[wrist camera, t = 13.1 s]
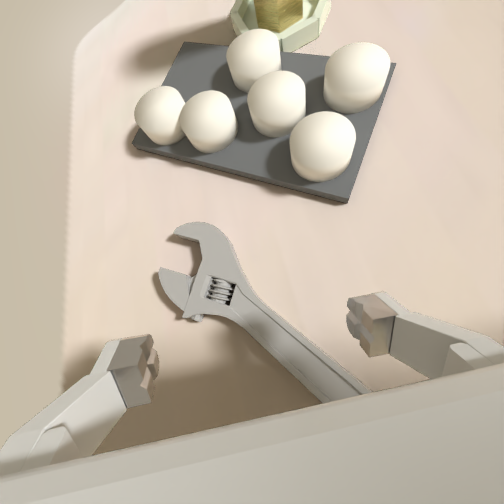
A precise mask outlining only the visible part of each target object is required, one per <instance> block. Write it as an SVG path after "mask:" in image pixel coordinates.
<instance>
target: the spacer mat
mask: <svg viewBox="0 0 504 504" xmlns="http://www.w3.org/2000/svg"><path fill="white" fill-rule="evenodd" d="M395 66H396V63H390V58H389V56H388V54H387V52H386V51H385V50H384V49H383V48H381V47H380V46H378V45H375V44H372V43H367V42H358V43H352V44H349V45H346V46H344V47H342V48H340V49H338V50H337V51H336V52H334V53H333V54H332V55H331V57H330V56H320V55H310V54H300V53H291V52H281V51H280V48H279V41H278V38H277V36H276V35H275V34H274V33H273V32H271V31H269V30H266V29H253V30H249V31H247V32H244V33H242V34H241V35H239V36H238V37H236V38H235V39H234V40H233V41H232V43H231V44H230V46H222V45H212V44H202V43H192V42H184V43H183V45H182V47H181V49H180V51H179V53H178V55H177V57H176V59H175V61H174V62H173V64H172V66H171V68H170V70H169V72H168V74H167V76H166V78H165V80H164V82H163V84H162V86H160V87H156V88H154V89H152V90H150V91H148V92H147V93H146V94H145V95H143V96H142V98H141V99H140V100H139V102H138V103H137V105H136V108H135V113H134V116H135V121H136V123H137V124H138V125H139V126H140V128H139V130H138V132H137V134H136V136H135V138H134V140H133V142H132V144H133V145H134V146H135V147H136V148H137V149H140V150H144V151H148V152H152V153H155V154H159V155H163V156H167V157H171V158H175V159H178V160H182V161H186V162H190V163H194V164H198V165H202V166H205V167H209V168H213V169H217V170H221V171H225V172H228V173H232V174H236V175H240V176H244V177H248V178H251V179H255V180H259V181H263V182H267V183H271V184H274V185H278V186H282V187H286V188H290V189H294V190H297V191H301V192H305V193H309V194H313V195H317V196H320V197H324V198H328V199H332V200H336V201H340V202H344V203H348V200H349V197H350V194H351V191H352V189H353V186H354V183H355V180H356V177H357V174H358V171H359V168H360V166H361V163H362V160H363V157H364V154H365V151H366V148H367V146H368V143H369V140H370V137H371V134H372V131H373V128H374V126H375V123H376V120H377V117H378V114H379V111H380V108H381V106H382V103H383V100H384V97H385V94H386V91H387V88H388V86H389V83H390V80H391V77H392V74H393V71H394V68H395Z"/></svg>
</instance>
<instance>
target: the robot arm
mask: <svg viewBox="0 0 504 504" xmlns="http://www.w3.org/2000/svg"><path fill="white" fill-rule="evenodd" d="M347 307H348V308H349V309H350V311H349V313H348V314H347V321H346V322H347V326H348V329H349V331H350V333H351V334H352V336H353V337H354V338H356V339H358V340H360V346H361V348H362V349H363V350H364V351H365V353H366V354H367V355H368V357H373V356H379V355H384V354H390V355H391V356H393V357H394V358H396V359H398V360H399V361H401V362H403V363H405V364H406V365H408V366H410V367H411V368H413V369H415V370H416V371H418V372H420V373H421V374H423V375H425V376H426V377H428V378H430V380H426V381H421V382H417V383H412V384H408V385H403V386H399V387H394V388H390V389H386V390H381V391H377V392H372V393H368V394H363V395H359V396H354V397H350V398H346V399H341V400H337V401H332V402H328V403H323V404H319V405H314V406H310V407H306V408H301V409H297V410H292V411H288V412H283V413H279V414H274V415H270V416H265V417H261V418H257V419H252V420H248V421H243V422H239V423H234V424H230V425H226V426H221V427H217V428H212V429H208V430H204V431H199V432H195V433H190V434H186V435H181V436H177V437H173V438H168V439H164V440H159V441H155V442H150V443H146V444H141V445H137V446H132V447H128V448H124V449H119V450H115V451H110V452H106V453H101V454H97V455H93V453H94V452H95V451H96V449H97V448H98V447H99V446H100V444H101V443H102V442H103V440H104V439H105V438H106V436H107V435H108V434H109V433H110V431H111V430H112V429H113V427H114V426H115V425H116V424H117V422H118V421H119V420H120V418H121V417H122V416H123V414H124V413H125V412H126V411H127V408H131V407H135V406H139V405H144V404H148V403H152V398H153V394H154V390H155V384H154V380H155V378H156V377H157V376H158V371H159V358H158V354H157V351H156V350H154V349H153V348H152V347H153V343H154V341H153V339H152V336H151V335H150V334H146V335H140V336H133V337H127V338H123V339H116V340H110V341H108V342H107V343H106V344H105V346H104V348H103V350H102V352H101V354H100V356H99V357H98V359H97V361H96V363H95V365H94V367H93V369H92V371H91V373H90V374H89V375H86V376H84V377H83V378H81V379H80V380H79V381H78V382H76V383H75V384H74V385H73V386H71V387H70V388H69V389H68V390H67V391H65V392H64V393H63V394H62V395H60V396H59V397H58V398H57V399H55V400H54V401H53V402H52V403H50V404H49V405H48V406H47V407H45V408H44V409H43V410H42V411H41V412H39V413H38V414H37V415H36V416H34V417H33V418H32V419H31V420H29V421H28V422H27V423H26V424H24V425H23V426H22V427H21V428H20V429H18V430H17V431H16V432H14V433H13V434H12V435H11V436H10V437H9V438H8V440H7V441H6V442H5V444H4V445H3V447H2V448H1V450H0V504H504V347H503V346H502V345H500V344H499V343H497V342H496V341H494V340H493V339H491V338H490V337H489V336H486V335H483V334H480V333H477V332H474V331H471V330H468V329H465V328H462V327H459V326H456V325H453V324H450V323H447V322H443V321H440V320H437V319H434V318H431V317H428V316H425V315H422V314H419V313H416V312H413V313H411V312H410V311H409V310H407V309H406V308H405V307H404V306H402V305H401V304H400V303H399V302H397V301H396V300H395V299H394V298H392V297H391V296H390V295H389V294H387V293H386V292H384V291H381V292H376V293H371V294H368V295H363V296H358V297H352V298H349V299H348V302H347Z"/></svg>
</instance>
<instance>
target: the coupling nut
mask: <svg viewBox="0 0 504 504" xmlns="http://www.w3.org/2000/svg"><path fill="white" fill-rule="evenodd" d="M254 6H255V12H256V18H257V24H258V28H261V29H266V30H270V31H274V32H278V33H281V32H282V31H284V30H286V29H287V28H289V27H290V26H292V25H293V24H295V23H296V22H298V21H299V20H301V19H302V18H303V0H254Z"/></svg>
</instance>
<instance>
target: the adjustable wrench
mask: <svg viewBox="0 0 504 504" xmlns="http://www.w3.org/2000/svg"><path fill="white" fill-rule="evenodd" d="M174 234H175V235H177V236H179V237H180V238H183V239H187V240H191V241H195V242H198V243H200V248H201V254H202V261H201V264H200V267H199V269H198V272H197V274H196V275H195V276H193V277H191V276H188V275H185V274H182V273H178V272H175V271H172V270H169V269H165V268H162V267H160V269H159V272H158V275H159V279H160V282H161V285H162V287H163V289H164V291H165V293H166V294H167V296H168V297H169V298H170V299H171V300H172V302H173V303H175V304H176V305H177V306H178V307H179V308H180V309H181V310H183V311H184V313H183V316H182V318H191V319H193V320H195V321H199V322H202V319H203V316H204V314H211V315H220V316H223V317H226V318H229V319H230V320H232V321H234V322H236V323H237V324H238V325H240V326H241V327H242V328H244V329H245V330H246V331H247V332H248V333H249V334H250V335H251V336H252V337H253V338H254V339H255V340H256V341H257V342H259V343H260V344H261V345H262V346H263V347H264V348H265V349H266V350H267V351H268V352H269V353H270V354H271V355H272V356H273V357H274V358H275V359H277V360H278V361H279V362H280V363H281V364H282V365H283V366H284V367H285V368H286V369H287V370H288V371H289V372H290V373H291V374H292V375H293V376H294V377H296V378H297V379H298V380H299V381H300V382H301V383H302V384H303V385H304V386H305V387H306V388H307V389H308V390H309V391H310V392H311V393H312V394H313V395H315V396H316V397H317V398H318V399H319V400H320V401H321V402H322V403H328V402H332V401H337V400H341V399H346V398H350V397H354V396H359V395H363V394H368V393H372V391H371V390H370V389H369V388H367V387H366V386H365V385H364V384H363V383H361V382H360V381H359V380H358V379H356V378H355V377H354V376H353V375H352V374H350V373H349V372H348V371H347V370H345V369H344V368H343V367H342V366H341V365H339V364H338V363H337V362H336V361H334V360H333V359H332V358H331V357H330V356H328V355H327V354H326V353H325V352H323V351H322V350H321V349H320V348H319V347H317V346H316V345H315V344H314V343H313V342H311V341H310V340H309V339H308V338H306V337H305V336H304V335H303V334H302V333H300V332H299V331H298V330H297V329H295V328H294V327H293V326H292V325H291V324H289V323H288V322H287V321H286V320H284V319H283V318H282V317H281V316H280V315H278V314H277V313H276V312H275V311H273V310H272V309H271V308H270V307H269V306H267V305H266V304H265V303H264V302H263V301H262V300H261V299H260V298H259V297H258V296H257V294H256V293H255V291H254V290H253V288H252V287H251V285H250V283H249V281H248V279H247V278H246V276H245V274H244V272H243V270H242V268H241V265H240V263H239V260H238V258H237V255H236V253H235V250H234V248H233V245H232V243H231V242H230V240H229V239H228V238H227V237H226V236H225V235H224V234H223V233H222V232H221V231H220V230H219V229H218V228H217V227H215V226H213V225H210V224H208V223H205V222H192V223H186V224H184V225H182V226H179V227H177V228H176V229H175V231H174ZM215 282H216V284H215ZM232 284H235V285H236V286H235V289H234V288H232ZM213 287H214V290H213ZM230 290H234V293H233V294H232V293H230ZM212 292H213V293H212ZM211 293H212V295H211ZM229 295H233V296H232V299H230V298H229V297H228V296H229ZM210 297H211V299H210ZM227 301H231V302H230V305H227V304H226V302H227Z"/></svg>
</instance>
